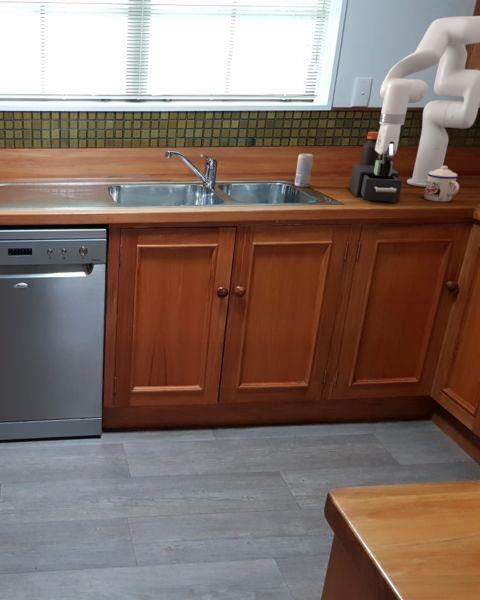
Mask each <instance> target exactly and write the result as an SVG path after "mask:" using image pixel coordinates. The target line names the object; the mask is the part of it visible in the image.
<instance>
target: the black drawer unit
mask: <svg viewBox="0 0 480 600" xmlns="http://www.w3.org/2000/svg"><path fill="white" fill-rule="evenodd" d="M403 182H404V180H403V179H399V178H398V179H397V178H396V177H395V176H393V175H390V176H380V175H375V174H362V180H361V186H360V191H359V193H360V194H361V195H362V196H363V197H362V200H363V201H377V202H379V201H380V202H395V203H396V202H397V203H398V202H400V198H401V193H402V188H403V187H402V186H403V184H404V183H403Z"/></svg>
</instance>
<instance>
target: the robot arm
mask: <svg viewBox="0 0 480 600" xmlns="http://www.w3.org/2000/svg"><path fill="white" fill-rule="evenodd" d="M479 43H480V15H471V16H470V15H468V16H467V15H466V16H465V15H463V16H462V15H461V16H460V15H459V16H447V17H440V18H437V19H435V20H434V21H432V22H431V23H430V24H429V26H428V28H427V30H426V32H425V33H424V35H423V37H422V38H421V40H420V42H419V44H418V45H417V48H416V49H415V51H413V52H412V53H410V54H409V55H407V56H406V57H404V58H402V59H401V60H399V61H398V62H397V63H395V64H394V65H393V66H392V67H391V68H390V70H389V71H388V72H387V74H386V76H385V78H384V80H383V81H382V83H381V86H380V89H379V96H380V98H381V99H382V107H381V112H380V117H379V123H378V124H380V126H379V130H378V132H379V134H378V138H377V142H376V147H375V151H376V152H378V153H379V156H378V160H382V163H381V165H380V171H379V175H383V176H388V175H389V173H390V168H391V163H392V162H393V157H394V156H395V155H396V154H397V151H398V147H399V141H400V134H401V126H404V125H405V121H406V115H407V111H408V107H409V106H408V105H409V104H415V103H417V104H418V103H419V102H421V101H423V100H424V99H425V98H426V96H427V94H428V91H429V87H428V84H427V82H426V81H425V80H423V79H418V78H405V77H407V76H410V75H412V74H416V73H418V72H421V71H425V70H427V69H431V68H433V67H435V66H436V65H437V70H436V74H435V79H434V83H433V92H434V94H435V95H437V96H440V97H453V98H463V100H462V101H461V100H452V99H451V100H449V99H434V100H430V101H429V102H428V103H426V104H425V106H424V108H423V111H422V126H421V134H420V139H419V144H418V149H417V154H416V158H415V162H414V167H413V173H412V177H411V178H408V179H407V180H406V184H408V185H410V186H414V187H422V188H426V184H427V180H428V173H429V172H430V171H435V170H437V169H441V166H444V162H445V158H446V154H447V149H448V145H449V135H448V132H447V130H446V129H445V128H450V129H468V128H471V127H472V126H473V125H474V123H475V121H476V119H477V115H478V111H479V107H480V69H468V68H467V69H466V64H467V63H466V62H467V60H468V59H467V58H468V51H467V48H466V47H465V45H473V44H479Z"/></svg>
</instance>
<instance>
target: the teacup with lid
mask: <svg viewBox="0 0 480 600" xmlns="http://www.w3.org/2000/svg"><path fill="white" fill-rule="evenodd" d="M457 178H458V173H456V172H453V171H452V170H451V169H449V167H448V166H447V165H443V166H441V169H437V170H435V171H430V172H429V173H428V180H427V184H426V187H425V189H424V193H423V199H425V200H428V201H432V202H439V203H440V202H441V203H448V202H451V201H452V198H453V196H455V195H457V194H458V193H459V189H460V184H459V183H458V182H457Z"/></svg>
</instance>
